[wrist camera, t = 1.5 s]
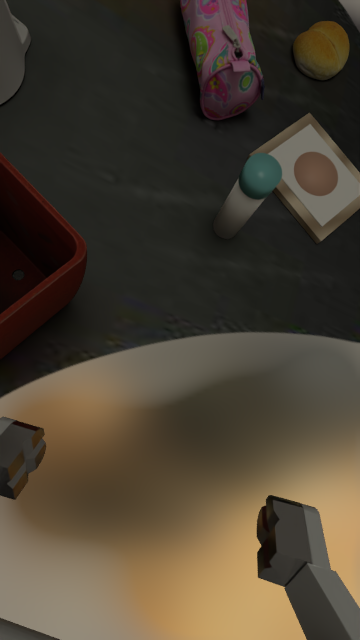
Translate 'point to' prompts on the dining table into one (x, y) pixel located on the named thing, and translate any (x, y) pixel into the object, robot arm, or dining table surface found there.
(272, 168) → the marker
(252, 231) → the dining table surface
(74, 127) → the dining table surface
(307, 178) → the picture frame
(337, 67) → the bread roll
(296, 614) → the robot arm
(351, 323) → the dining table surface
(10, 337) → the plant pot
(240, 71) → the pencil case
